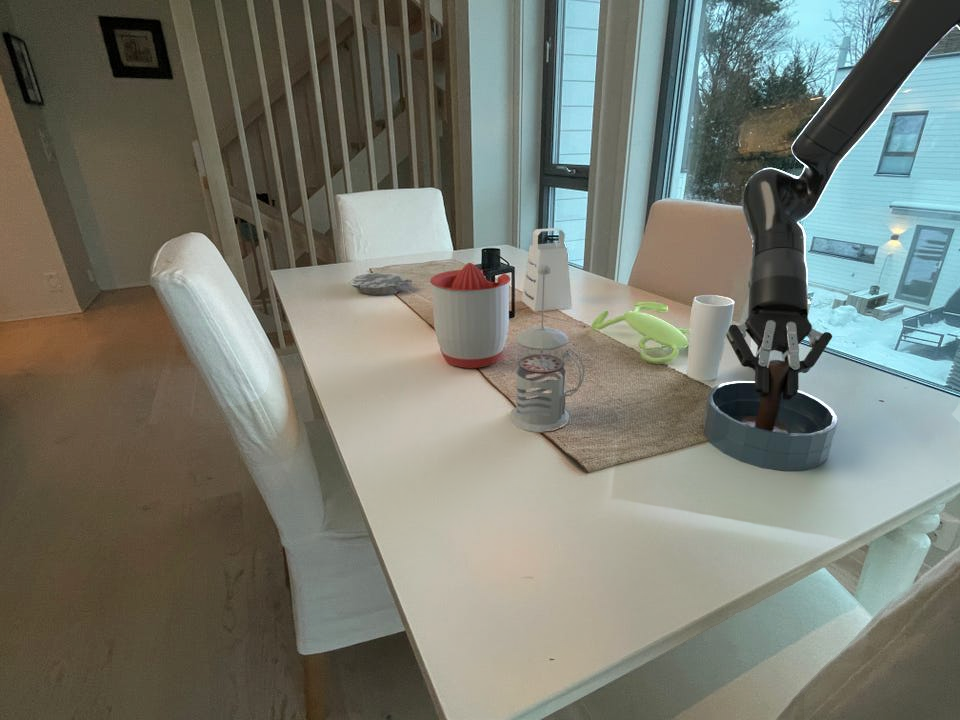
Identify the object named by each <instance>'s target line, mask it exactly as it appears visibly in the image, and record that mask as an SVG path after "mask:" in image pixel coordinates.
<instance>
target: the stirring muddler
mask: <svg viewBox="0 0 960 720" xmlns="http://www.w3.org/2000/svg"><path fill="white" fill-rule="evenodd" d="M768 368H769V393H768V395H767V396H766V397H761V401H760V406H759V410H758V415H757V416H748V417H745V418H744V419H743V420H742V423H745V424H747V425H749V426H753V427H756V428H760V429H764V430H768V431H773V432H781V433H788V429H787V427H786V426H785V425H784V424H783V423H781V422H779V421H777V420H776V417H777V413H778V409H779V405H780V401H781V397H782V393H783V389H784V384H785V380H786V376H787V372H788V368H789V364H788V363H787V362H785V361H781V360H771V361H770V362H769V366H768Z"/></svg>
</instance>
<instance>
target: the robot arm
mask: <svg viewBox="0 0 960 720" xmlns="http://www.w3.org/2000/svg"><path fill="white" fill-rule="evenodd" d="M955 27H957V28H958V29H959V30H960V0H899V2H898V4H897V5H896V7H895V8H894V10H893V12H892V13H891V14H890V16H889V17H888V19H887V20H886V22H885V23H884V25H883V27H882V28H881V29H880V31H879V32H878V33H877V35H876V37H875V38H874V39H873V41H872V42H871V43H870V45H869V46H868V48H867V49H866V50H865V52H864V53H863V54H862V55H861V57H860V58H859V60H858V61H857V62H856V64H854V66H853V67H852V69H851V70H850V71H849V72H848V74H846V76H845V78H843V80H842V81H841V83H839V85H837V87H836V88H835V90H834V91H833V92H832V93H831V94H830V96H829V97H828V98H827V99H826V101H825V102H824V103H823V105H821V106H820V108H819V109H818V111H817V112H816V113H815V114H814V115H813V117H812V118H811V120H809V122H808V123H807V124H806V125H805V127H804V128H803V130H802V131H801V132H800V133H799V135H798V136H797V137H796V139H795V140H794V142H793V143H792V145H791V153H792V155H793V156H794V157H795V159H796V160H798V161H799V162H800V163H801V164H803V165H804V167H803V170H802V173H801V174H800V175H799V176H796V175H793V174H790V173H788V172H785V171H783V170H780V169H777V168H773V167H767V168H762V169H760V170H758V171H756V172H755V173H754V174H753V175H752V176H751V177H750V178H749V179H748V180H747V182H746V184H745V186H744V189H743V192H742V197H741V198H742V199H741V201H742V202H741V206H742V211H743V215H744V218H745V219H744V220H745V222H746V225H747V228H748V231H749V234H750V237H751V240H752V246H751V247H752V248H751V249H752V250H751V266H750V270H749V271H750V272H749V280H748V311H747V313H748V315H747V318H746V320H745V322H744V323H742V324H739V325H736V324H731V326H730V327H729V329H728V331H727V333H726V337H727V341H728V343H729V345H730V346H731V348H732V350H733V351H734V354H735V355H736V357H737V359H738V361H739V363H740V365H741V366H742V367H744V368H747V367H748V368H750V369H752V370H753V372H754V381H755V391H756V392H759V396H761V397H766V396H767V395H768V393H769V368H767V365H768V361H769V355H770V351H772V350H776V351H779V352H781V355H782V360H783V361H785V362H787V363H788V364H789V368H788V372H787V376H786V380H785V384H784V389H783V399H786V400H790V399H791V398H792V397H793V396H794V395H795V394H796V393H797V392H798V391H799V374H800V373H803V374H807V373H808V372H809V371H810V370H811V369H812V368H813V367H814V366H815V364H816V363H817V362H818V360H819V358H820V357H821V355H822V354H823V352H824V351H825V349H826V347H827V346H828V345H829V343H830V341H831V340H832V338H833V334H832V333H831V332H829V331H825V332H823V333H822V332H821V331H818V330H816V329H814V328H813V325H812V323H811V322H810V319H809V313H808V299H809V286H808V283H809V282H808V275H809V274H808V266H807V261H806V233H805V230H804V227H803V226H802V225H801V224H800V223H799V222H801V221H803V220H804V219H806V218H807V217H808V216H809V215H810V214H811V213H812V212H813V211H814V209H815V208H816V206H817V204H818V203H819V201H820V199H821V197H822V195H823V193H824V192H825V190H826V188H827V186H828V184H829V182H830V181H831V179H832V177H833V175H834V173H835V171H836V169H837V168H838V166H839V165H840V163H841V162H842V161H843V159H844V158H845V157H847V155H848V154H849V153H850V152H851V150H852V149H853V148H854V147H855V146H856V145H857V144H858V142H859V141H860V140H861V139H862V138H863V137H864V136H865V134H866V133H867V132H868V131H869V130H870V129H871V128H872V126H873V125H874V124H875V123H876V122H877V120H878V119H879V118H880V116H881V115H882V114H883V113H884V111H885V110H886V108H887V107H888V106H889V104H890V103H891V101H893V99H894V97H895V96H896V95H897V93H898V91H899V90H900V89H901V88H902V86H903V85H904V84H905V82H906V81H907V80H908V79H909V78H910V76H911V74H912V73H913V72H914V71H915V69H916V68H917V67H918V66H919V65H920V64H921V63H922V61H923V60H924V59H925V58H926V57H927V55H929V54H930V52H932V50H933V49H934V48H935V47H936V46H937V45H938V44H939V43H940V41H941V40H942V39H943V38H945V36H946V35H948V34H949V32H951V31H952V30H953V29H954V28H955ZM747 334H748V336H749V337H750V339H751V338H752V339H753V341H754V342H755V343H756V344H757V352H756V357H755V356H754V355H753V353H752V351H751V347H750V346H749V344H748V343H747V341H746V337H747ZM806 338H808V345H809V347H811V348H810V349H809V352H808V353H807V354H806V356H805V358H804V359H803V360H800V356H799V354H800V346H799V345H800V343H802V342H803V341H804V339H806Z"/></svg>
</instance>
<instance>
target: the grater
mask: <svg viewBox="0 0 960 720" xmlns="http://www.w3.org/2000/svg"><path fill="white" fill-rule="evenodd" d="M553 231H556V232H557V231H558V243H557V242H550V243H539V235H540V234H541V233H542V232H553ZM565 235H566V234H565V232H564V231H563V230H562V229H560V228H557V227H547V228H536V229H535V230H534V231H533V232H532V244H529V250H528V256H527V262H526V269H525V276H524V283H523V289H522V296H521V302H523V303H524V304H525V305H526V306H527V307H528V308H530V309H531V310H532V311H533V312H534V313H538V312H542V295H543V274H538V267H540V266H541V265H547V266H548V267H549V268H550V270H551V272H550V274H545V278H544V309H543V312H547V311H554V310H555V311H556V310H565V309H572V308H573V303H572V301H573V300H572V291H571V279H570V267H569V255H568V247H566V246H565Z"/></svg>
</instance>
